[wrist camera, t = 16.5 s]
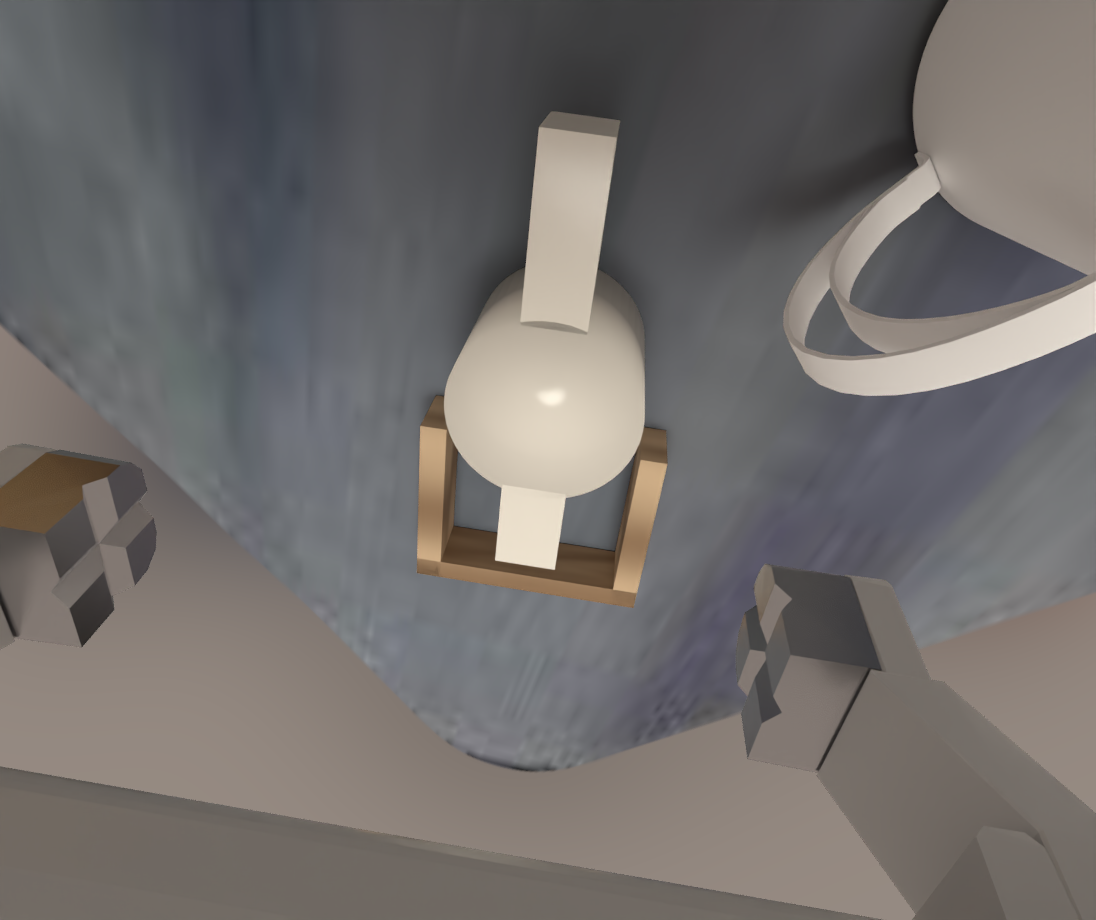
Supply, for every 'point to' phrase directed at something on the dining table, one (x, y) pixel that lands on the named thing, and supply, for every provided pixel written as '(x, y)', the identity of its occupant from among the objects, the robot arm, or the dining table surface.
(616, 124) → the white bar with bulge
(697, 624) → the dining table surface
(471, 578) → the cradle
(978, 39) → the coffeepot
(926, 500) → the dining table surface
